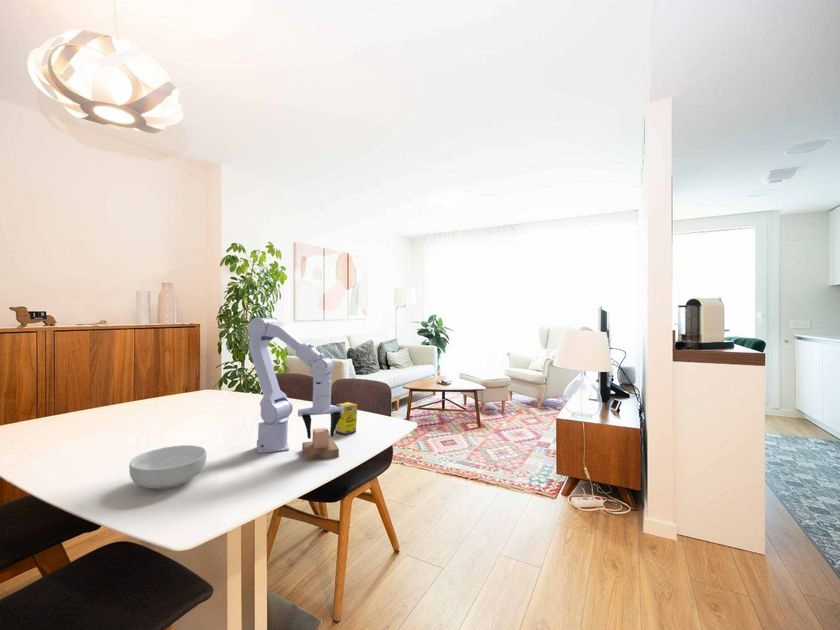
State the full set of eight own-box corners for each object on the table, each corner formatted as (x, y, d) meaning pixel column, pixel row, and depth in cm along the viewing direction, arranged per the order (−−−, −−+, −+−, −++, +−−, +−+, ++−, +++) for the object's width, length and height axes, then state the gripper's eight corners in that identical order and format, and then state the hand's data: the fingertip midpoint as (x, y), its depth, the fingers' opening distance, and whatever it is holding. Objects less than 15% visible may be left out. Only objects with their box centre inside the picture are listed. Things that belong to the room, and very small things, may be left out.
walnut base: (306, 460, 116) (306, 452, 116) (302, 450, 125) (302, 442, 125) (338, 456, 120) (338, 448, 120) (332, 446, 129) (332, 439, 129)
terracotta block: (314, 448, 119) (314, 432, 119) (312, 444, 124) (312, 428, 124) (328, 447, 121) (329, 431, 121) (326, 442, 125) (326, 427, 125)
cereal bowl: (123, 481, 98) (124, 454, 98) (195, 465, 110) (196, 441, 110) (134, 505, 86) (135, 474, 86) (213, 484, 98) (214, 457, 98)
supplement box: (345, 435, 142) (346, 406, 142) (334, 432, 145) (335, 404, 145) (356, 432, 146) (357, 404, 147) (346, 429, 150) (347, 401, 150)
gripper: (300, 398, 116) (298, 442, 116) (346, 396, 122) (345, 438, 122) (297, 394, 122) (296, 436, 122) (342, 392, 128) (340, 431, 128)
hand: (320, 436), depth 122 cm, fingers open, 7 cm apart
